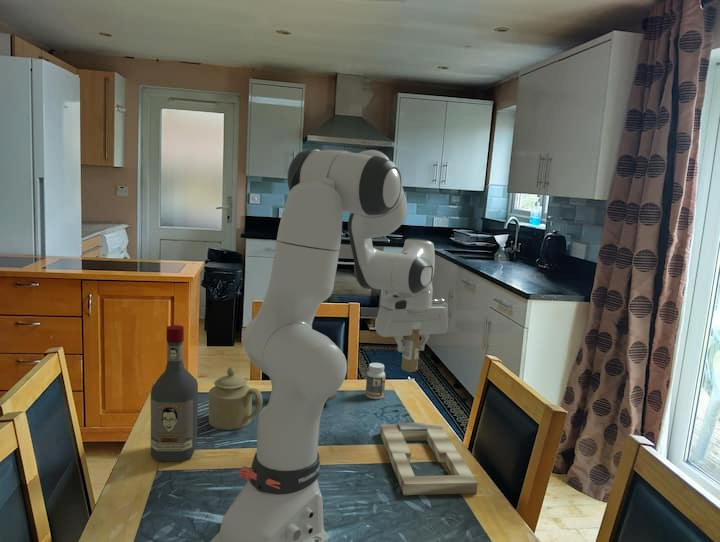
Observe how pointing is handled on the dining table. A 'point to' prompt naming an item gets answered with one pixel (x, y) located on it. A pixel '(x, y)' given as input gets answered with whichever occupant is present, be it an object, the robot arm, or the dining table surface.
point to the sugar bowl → (232, 402)
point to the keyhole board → (443, 451)
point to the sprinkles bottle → (411, 349)
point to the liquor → (174, 405)
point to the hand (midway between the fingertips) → (410, 350)
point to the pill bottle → (375, 381)
